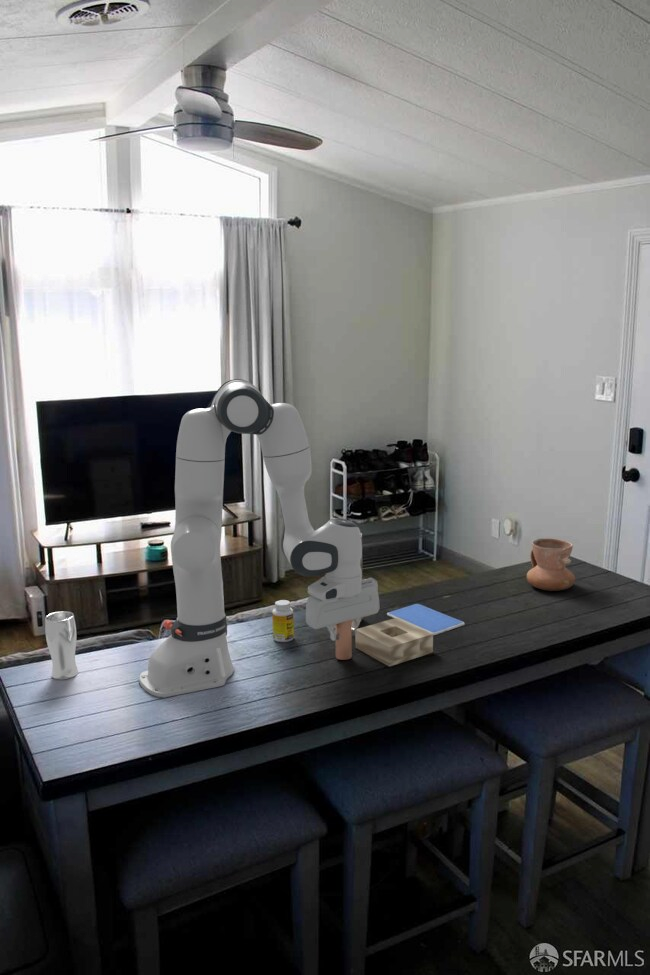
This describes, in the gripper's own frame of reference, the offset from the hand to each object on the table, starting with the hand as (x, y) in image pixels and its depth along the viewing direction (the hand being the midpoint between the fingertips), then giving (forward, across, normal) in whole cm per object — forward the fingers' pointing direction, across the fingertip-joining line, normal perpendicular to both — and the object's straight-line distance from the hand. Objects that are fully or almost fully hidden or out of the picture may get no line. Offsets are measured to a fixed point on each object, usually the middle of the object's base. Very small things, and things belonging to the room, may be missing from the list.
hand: (343, 637), depth 198 cm
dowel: (+5, 0, 0) cm, 5 cm away
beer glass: (+7, +60, -33) cm, 68 cm away
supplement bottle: (+6, +6, -20) cm, 21 cm away
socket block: (+6, -13, +3) cm, 15 cm away
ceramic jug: (+5, -82, -6) cm, 83 cm away
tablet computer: (+6, -34, -8) cm, 35 cm away
